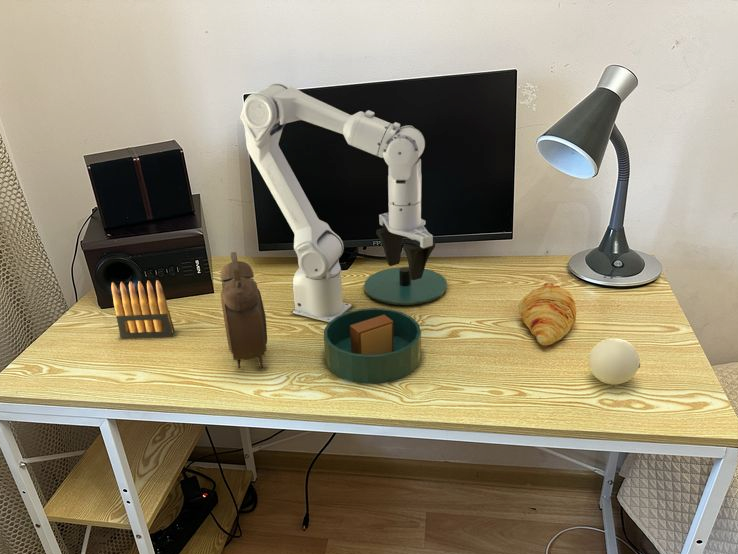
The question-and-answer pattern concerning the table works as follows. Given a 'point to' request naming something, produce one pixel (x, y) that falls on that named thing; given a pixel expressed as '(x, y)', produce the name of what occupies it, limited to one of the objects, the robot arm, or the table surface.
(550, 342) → the croissant
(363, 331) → the tall brown block
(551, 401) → the table surface
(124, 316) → the ammunition clip
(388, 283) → the lid
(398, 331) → the pot
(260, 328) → the alarm clock
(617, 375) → the cream white ovoid
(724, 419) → the table surface
